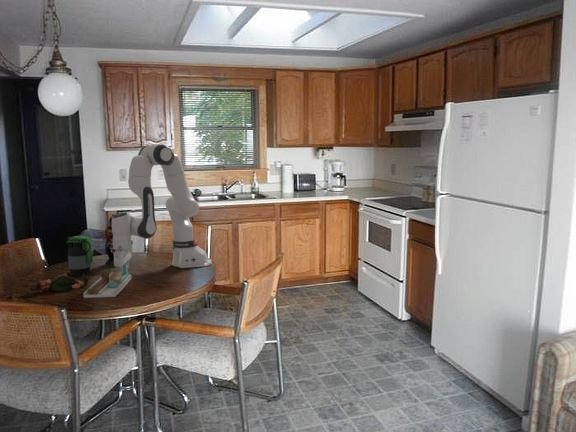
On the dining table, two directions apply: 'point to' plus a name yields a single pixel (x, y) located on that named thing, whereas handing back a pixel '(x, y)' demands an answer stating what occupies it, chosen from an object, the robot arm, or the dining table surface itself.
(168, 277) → the dining table surface
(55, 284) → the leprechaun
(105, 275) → the strip walnut
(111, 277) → the maple cube
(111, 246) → the flower bouquet vase
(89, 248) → the potted plant
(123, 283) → the lane board
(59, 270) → the dining table surface
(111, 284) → the strip teal
